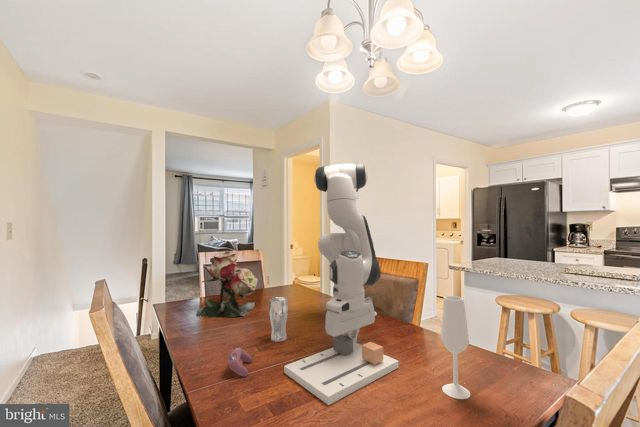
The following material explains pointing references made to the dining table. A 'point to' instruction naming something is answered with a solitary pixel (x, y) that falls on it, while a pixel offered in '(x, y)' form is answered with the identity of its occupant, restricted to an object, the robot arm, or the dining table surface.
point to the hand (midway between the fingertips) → (351, 342)
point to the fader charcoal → (343, 344)
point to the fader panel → (337, 372)
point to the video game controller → (239, 361)
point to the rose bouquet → (229, 287)
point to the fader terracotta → (372, 352)
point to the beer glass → (278, 318)
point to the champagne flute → (454, 340)
